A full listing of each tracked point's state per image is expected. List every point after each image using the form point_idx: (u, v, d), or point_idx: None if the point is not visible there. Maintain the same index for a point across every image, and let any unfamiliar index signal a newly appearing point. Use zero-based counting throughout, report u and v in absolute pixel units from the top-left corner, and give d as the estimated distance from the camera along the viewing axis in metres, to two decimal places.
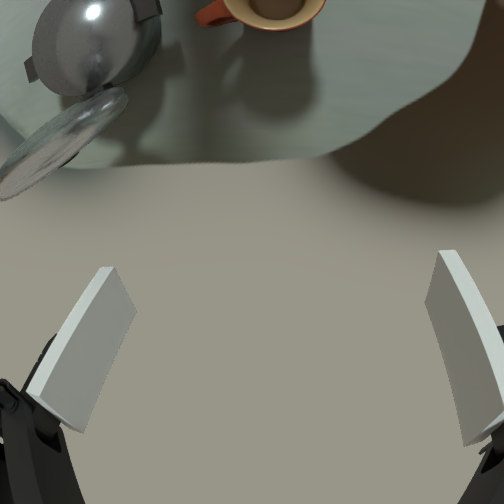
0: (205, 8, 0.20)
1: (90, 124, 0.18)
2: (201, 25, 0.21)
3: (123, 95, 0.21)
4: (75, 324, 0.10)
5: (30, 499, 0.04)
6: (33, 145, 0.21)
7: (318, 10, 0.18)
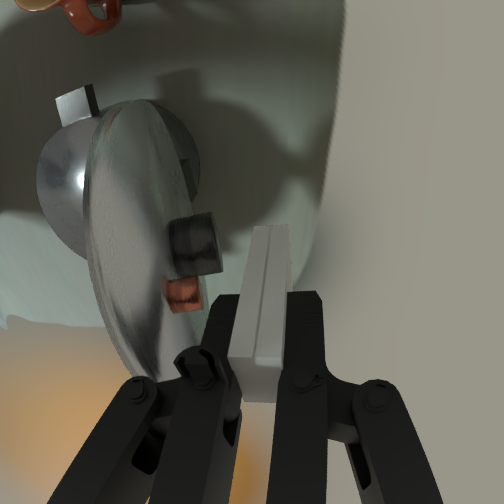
0: (71, 19, 0.13)
1: None
2: (94, 21, 0.14)
3: None
4: (262, 277, 0.10)
5: None
6: None
7: None
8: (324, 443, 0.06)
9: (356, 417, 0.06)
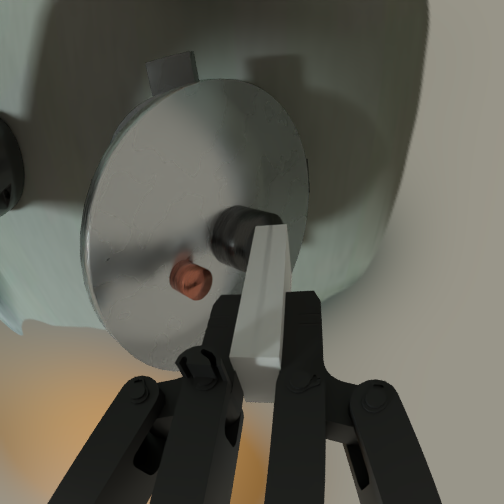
0: None
1: None
2: None
3: None
4: (264, 277, 0.10)
5: None
6: None
7: None
8: (322, 443, 0.06)
9: (354, 417, 0.06)
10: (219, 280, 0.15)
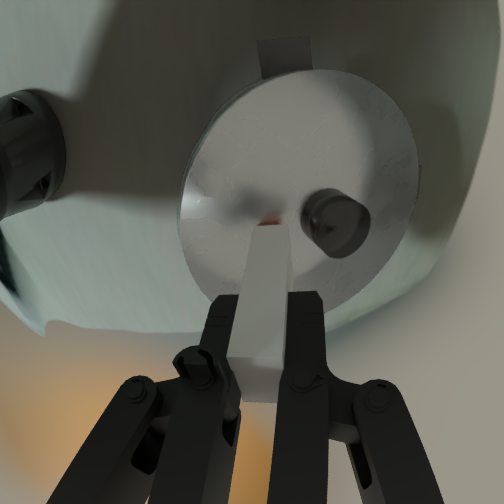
0: None
1: None
2: None
3: None
4: (261, 277, 0.10)
5: None
6: None
7: None
8: (325, 443, 0.06)
9: (357, 417, 0.06)
10: (301, 251, 0.17)
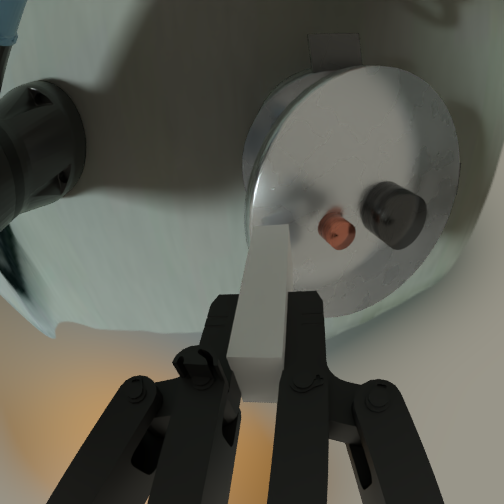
0: None
1: None
2: None
3: None
4: (261, 277, 0.10)
5: None
6: None
7: None
8: (325, 443, 0.06)
9: (357, 417, 0.06)
10: (359, 243, 0.16)
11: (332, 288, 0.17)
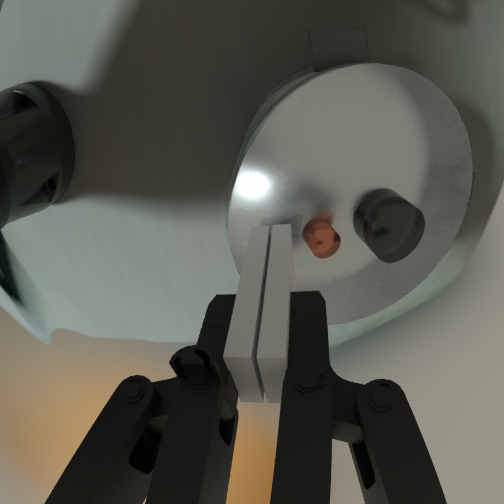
0: None
1: None
2: None
3: None
4: (259, 278, 0.10)
5: None
6: None
7: None
8: (329, 443, 0.06)
9: (361, 416, 0.06)
10: (351, 252, 0.15)
11: None
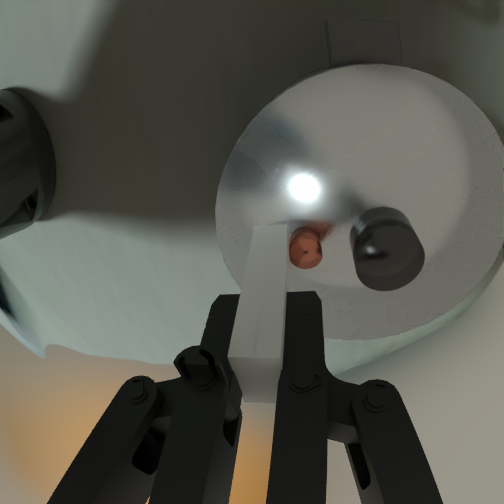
0: None
1: None
2: None
3: None
4: (262, 277, 0.10)
5: None
6: None
7: None
8: (324, 443, 0.06)
9: (356, 417, 0.06)
10: (346, 268, 0.14)
11: None
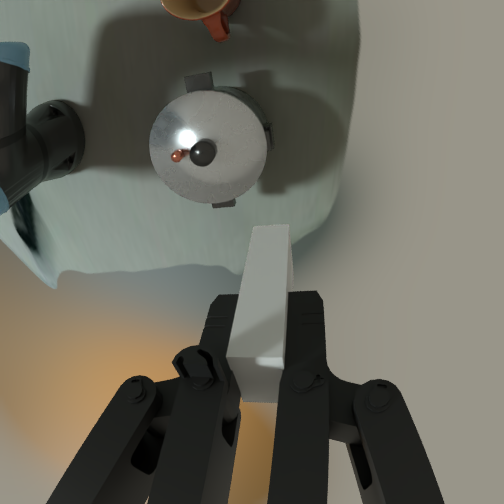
0: (210, 30, 0.28)
1: None
2: (225, 35, 0.28)
3: (211, 90, 0.33)
4: (261, 277, 0.10)
5: None
6: None
7: None
8: (325, 443, 0.06)
9: (357, 417, 0.06)
10: (196, 164, 0.38)
11: (188, 183, 0.39)
